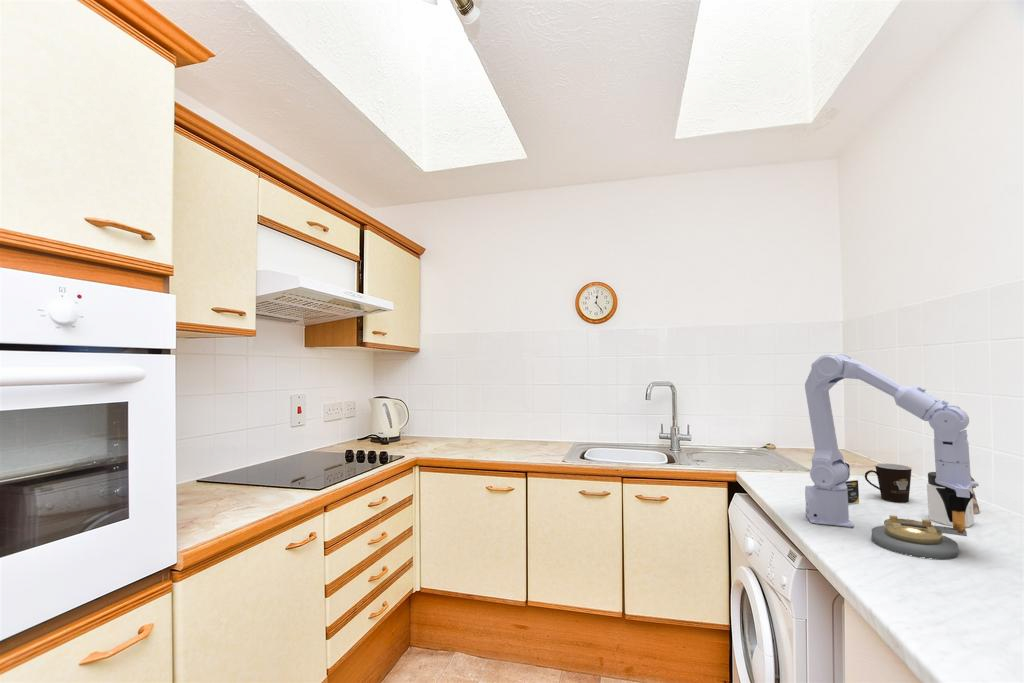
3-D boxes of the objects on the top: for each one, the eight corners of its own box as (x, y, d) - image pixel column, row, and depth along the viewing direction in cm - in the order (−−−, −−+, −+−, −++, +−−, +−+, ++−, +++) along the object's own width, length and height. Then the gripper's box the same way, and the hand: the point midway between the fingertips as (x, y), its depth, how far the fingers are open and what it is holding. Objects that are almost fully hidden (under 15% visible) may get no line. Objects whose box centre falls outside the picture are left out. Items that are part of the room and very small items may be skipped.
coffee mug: (910, 498, 144) (908, 465, 144) (916, 505, 136) (914, 470, 137) (863, 493, 150) (861, 461, 150) (866, 500, 142) (864, 466, 143)
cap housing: (883, 553, 103) (882, 544, 103) (863, 530, 117) (863, 522, 117) (972, 563, 97) (971, 553, 98) (940, 538, 111) (940, 530, 111)
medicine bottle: (841, 505, 138) (839, 464, 138) (819, 499, 145) (817, 459, 145) (859, 503, 140) (857, 462, 140) (837, 496, 147) (835, 457, 147)
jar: (967, 529, 117) (964, 480, 117) (925, 521, 123) (922, 474, 124) (978, 522, 122) (974, 475, 122) (936, 514, 128) (934, 470, 129)
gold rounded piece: (887, 539, 106) (885, 508, 106) (882, 526, 114) (880, 497, 115) (972, 551, 98) (970, 518, 99) (960, 536, 107) (958, 505, 107)
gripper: (987, 468, 97) (992, 535, 97) (966, 456, 110) (970, 515, 109) (942, 465, 101) (946, 530, 100) (926, 454, 113) (930, 511, 113)
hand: (956, 522), depth 105 cm, fingers closed
